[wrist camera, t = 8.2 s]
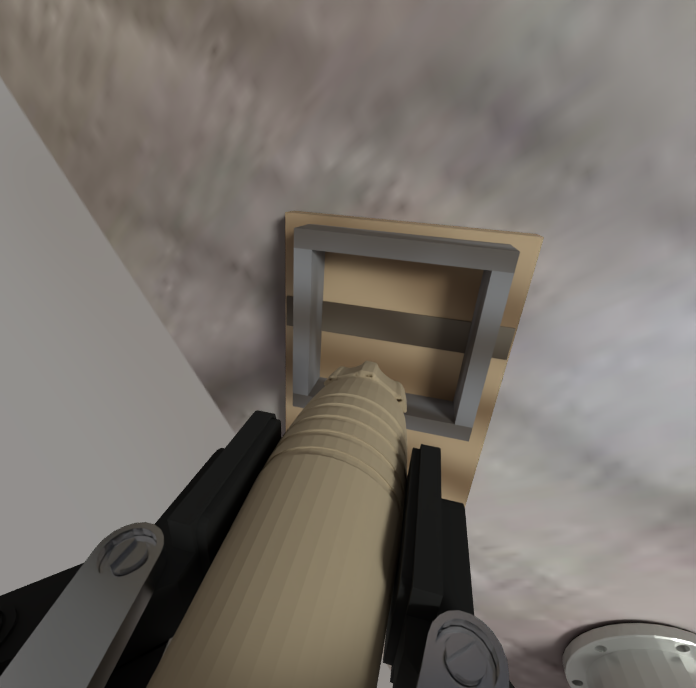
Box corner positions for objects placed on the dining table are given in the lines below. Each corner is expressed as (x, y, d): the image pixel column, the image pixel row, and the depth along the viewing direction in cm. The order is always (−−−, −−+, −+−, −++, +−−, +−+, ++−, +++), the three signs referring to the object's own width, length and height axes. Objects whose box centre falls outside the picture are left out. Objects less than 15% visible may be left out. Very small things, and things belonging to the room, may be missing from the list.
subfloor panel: (461, 499, 28) (464, 545, 24) (292, 460, 30) (273, 496, 26) (536, 234, 19) (558, 244, 16) (294, 210, 22) (266, 215, 18)
